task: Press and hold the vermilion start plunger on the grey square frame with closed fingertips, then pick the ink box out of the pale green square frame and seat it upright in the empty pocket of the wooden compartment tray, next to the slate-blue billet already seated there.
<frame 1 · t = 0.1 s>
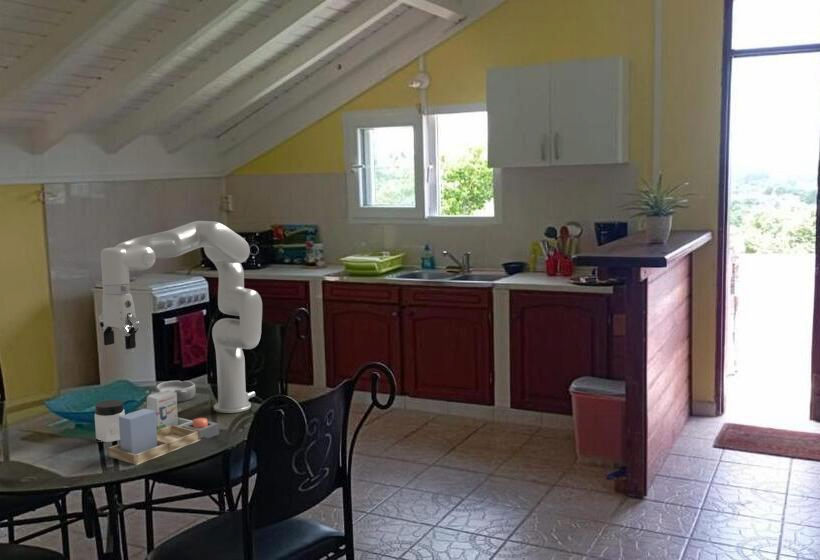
hand: (120, 346, 248), 31 cm above the table, fingers open, 9 cm apart
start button: (200, 426, 261), point 3 cm above the table, slide at 1.2 cm
ink box: (163, 429, 268), resting in pale green square frame
jar: (111, 441, 258), on the table
dish: (176, 398, 304), on the table
pale green square frame: (163, 429, 268), on the table
wooden compartment tray: (155, 451, 248), on the table
grey square frame: (200, 435, 262), on the table
seated billet: (139, 453, 243), resting on wooden compartment tray
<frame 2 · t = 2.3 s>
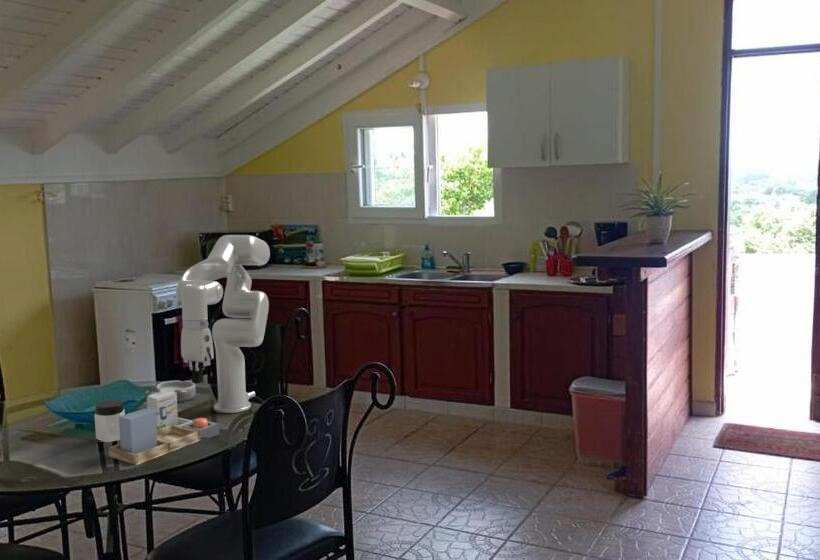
hand: (197, 382, 259), 17 cm above the table, fingers closed
nothing on the table moved.
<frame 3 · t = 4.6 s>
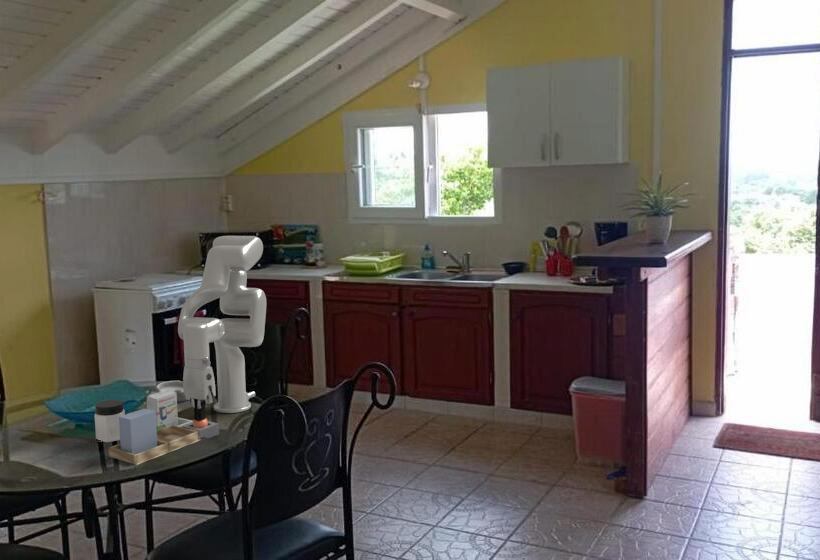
hand: (200, 419, 261), 5 cm above the table, fingers closed
nothing on the table moved.
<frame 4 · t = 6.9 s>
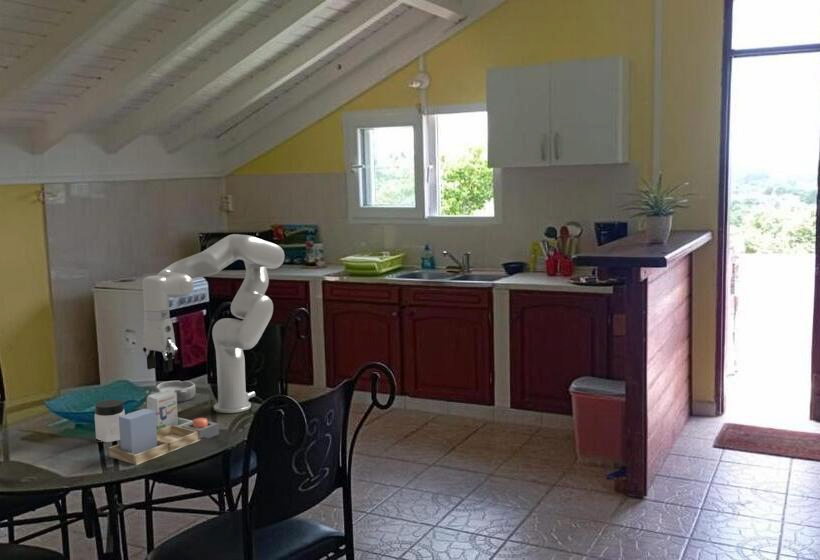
hand: (160, 369, 265), 20 cm above the table, fingers open, 7 cm apart
nothing on the table moved.
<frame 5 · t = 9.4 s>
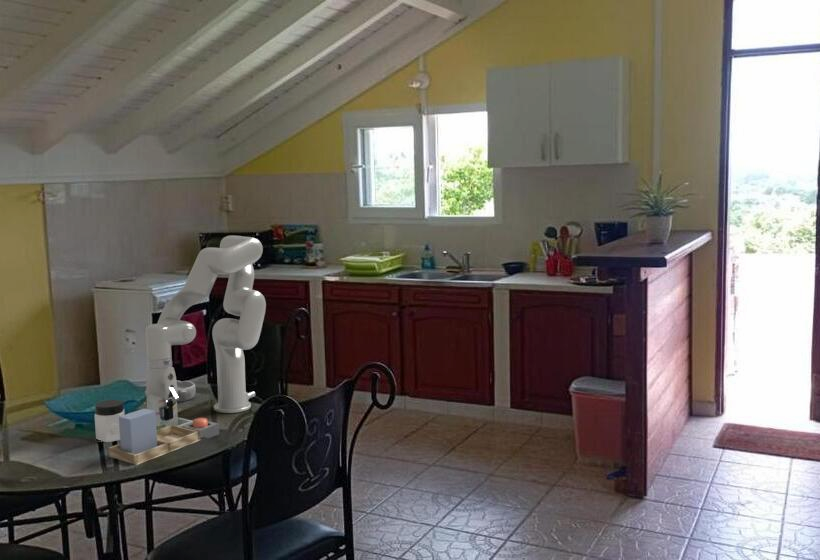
hand: (162, 417, 268), 4 cm above the table, fingers closed on ink box, 5 cm apart
ink box: (163, 429, 268), resting in pale green square frame, touching gripper
everything else where it was.
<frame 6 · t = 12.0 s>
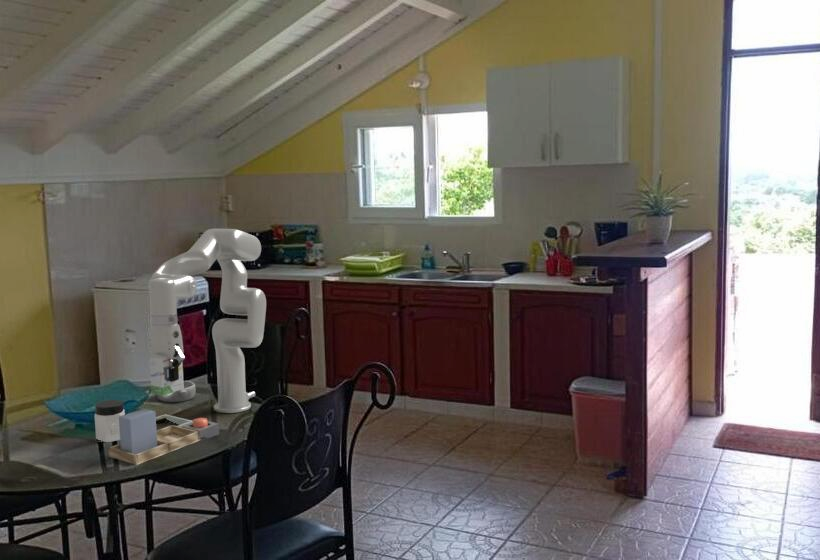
hand: (167, 378, 250), 21 cm above the table, fingers closed on ink box, 5 cm apart
ink box: (167, 392, 251), point 17 cm above the table, touching gripper
everything else where it was.
when the fingers open (7 cm above the table, at t = 14.9 s): ink box drops 2 cm, resting on wooden compartment tray.
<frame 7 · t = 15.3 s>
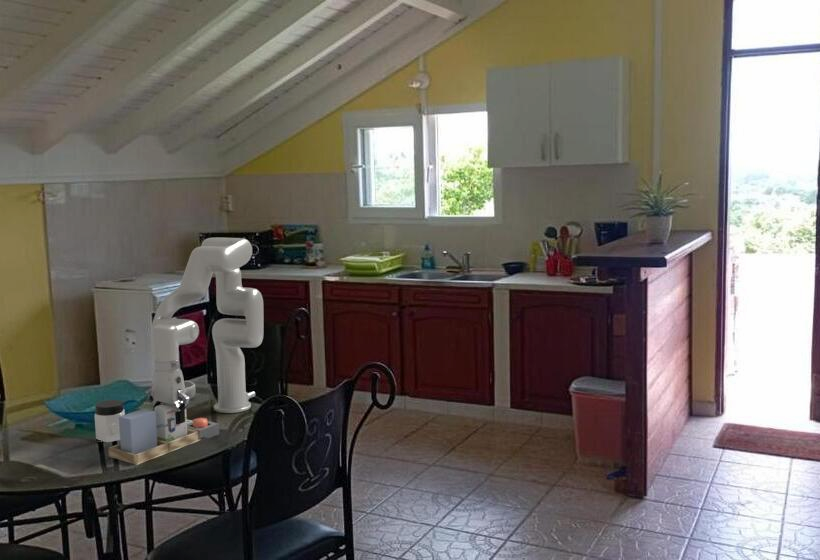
hand: (169, 420, 252), 8 cm above the table, fingers open, 9 cm apart
ink box: (171, 442, 253), point 1 cm above the table, touching wooden compartment tray
everything else where it was.
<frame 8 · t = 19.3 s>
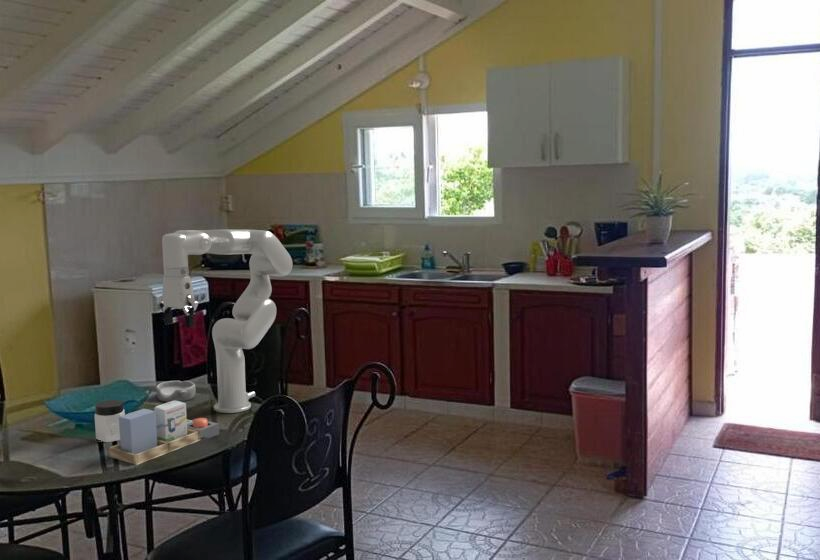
hand: (178, 325, 267), 33 cm above the table, fingers open, 9 cm apart
nothing on the table moved.
at the end: ink box inside the target area on the wooden compartment tray (0.4 cm from its centre), point 1.0 cm above the wooden compartment tray's base; ink box tilted 0°; the gripper is holding nothing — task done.
